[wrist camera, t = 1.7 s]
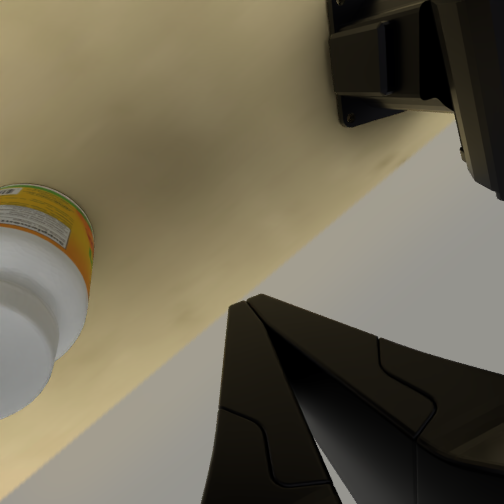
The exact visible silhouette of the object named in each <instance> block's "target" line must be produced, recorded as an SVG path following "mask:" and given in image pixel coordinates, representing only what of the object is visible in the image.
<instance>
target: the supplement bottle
mask: <svg viewBox="0 0 504 504" xmlns="http://www.w3.org/2000/svg"><path fill="white" fill-rule="evenodd" d="M93 255H94V234H93V230H92V227H91V224H90V222H89V219H88V218H87V216H86V214H85V213H84V212H83V210H82V209H81V208H80V207H79V206H78V205H77V204H76V203H75V202H74V201H72V200H71V199H70V198H68V197H67V196H65V195H64V194H62V193H60V192H58V191H56V190H53V189H51V188H48V187H45V186H40V185H34V184H14V185H7V186H3V187H0V419H3V418H5V417H8V416H10V415H12V414H14V413H16V412H18V411H19V410H21V409H23V408H24V407H26V406H27V405H28V404H30V403H31V402H32V401H33V400H34V399H35V398H36V397H37V396H38V395H39V394H40V393H41V391H42V390H43V389H44V387H45V386H46V384H47V382H48V380H49V378H50V376H51V373H52V369H53V366H54V362H55V361H56V360H58V359H59V358H60V357H61V356H63V355H64V354H65V353H66V352H67V351H68V350H69V348H70V347H71V346H72V345H73V344H74V342H75V341H76V339H77V338H78V336H79V334H80V332H81V330H82V328H83V326H84V323H85V319H86V315H87V309H88V301H89V292H90V283H91V275H92V265H93Z"/></svg>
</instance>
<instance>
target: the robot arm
mask: <svg viewBox="0 0 504 504" xmlns="http://www.w3.org/2000/svg"><path fill="white" fill-rule="evenodd" d="M327 5H328V15H329V24H330V34H331V37H330V39H329V47H330V56H331V66H332V75H333V85H334V91H335V93H337V103H338V112H339V121H340V124H341V125H342V126H344V127H355V126H358V125H361V124H365V123H368V122H371V121H374V120H378V119H381V118H384V117H388V116H391V115H394V114H397V113H401V112H404V111H407V110H412V111H427V112H442V113H454V115H455V119H456V123H457V128H458V133H459V137H460V142H461V146H462V147H461V148H460V153H461V157H462V160H463V161H464V162H466V163H467V167H468V170H469V172H470V173H471V175H472V177H473V178H474V180H475V181H476V182H477V183H479V184H481V185H483V186H485V187H486V188H488V189H490V190H492V191H495V192H496V197H497V198H498V199H499V200H502V201H504V0H341V3H340V5H338V4H337V2H336V0H327ZM349 114H351V120H350V121H349V122H348V121H347V116H348V115H349ZM313 437H314V438H313ZM314 439H315V440H316V442H317V443H318V445H319V446H320V448H321V449H322V451H323V452H324V454H325V455H326V457H327V458H328V460H329V461H330V463H331V465H332V466H333V468H334V469H335V471H336V472H337V474H338V475H339V477H340V478H341V480H342V481H343V483H344V484H345V486H346V487H347V489H348V490H349V492H350V494H351V495H352V497H353V498H354V500H355V501H356V503H357V504H504V375H502V374H499V373H495V372H491V371H487V370H484V369H480V368H477V367H473V366H469V365H466V364H462V363H458V362H455V361H451V360H448V359H444V358H441V357H438V356H434V355H431V354H427V353H424V352H421V351H418V350H415V349H412V348H409V347H406V346H403V345H400V344H398V343H395V342H392V341H389V340H387V339H384V338H379V339H378V336H375V335H373V334H370V333H367V332H365V331H362V330H359V329H357V328H354V327H351V326H348V325H346V324H343V323H340V322H338V321H335V320H332V319H329V318H327V317H324V316H321V315H318V314H316V313H313V312H311V311H308V310H305V309H302V308H300V307H297V306H294V305H292V304H289V303H286V302H283V301H281V300H278V299H275V298H273V297H270V296H267V295H264V294H259V295H256V296H253V297H251V298H249V299H247V301H241V302H238V303H235V304H233V305H231V306H229V309H228V319H227V329H226V339H225V348H224V358H223V368H222V378H221V388H220V397H219V410H218V415H217V424H216V432H215V439H214V446H213V452H212V457H211V462H210V467H209V471H208V476H207V480H206V484H205V488H204V492H203V496H202V500H201V504H342V502H341V500H340V498H339V496H338V493H337V491H336V489H335V487H334V486H333V482H332V479H331V477H330V475H329V472H328V470H327V468H326V465H325V463H324V461H323V458H322V456H321V454H320V452H319V449H318V447H317V445H316V442H315V440H314Z"/></svg>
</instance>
